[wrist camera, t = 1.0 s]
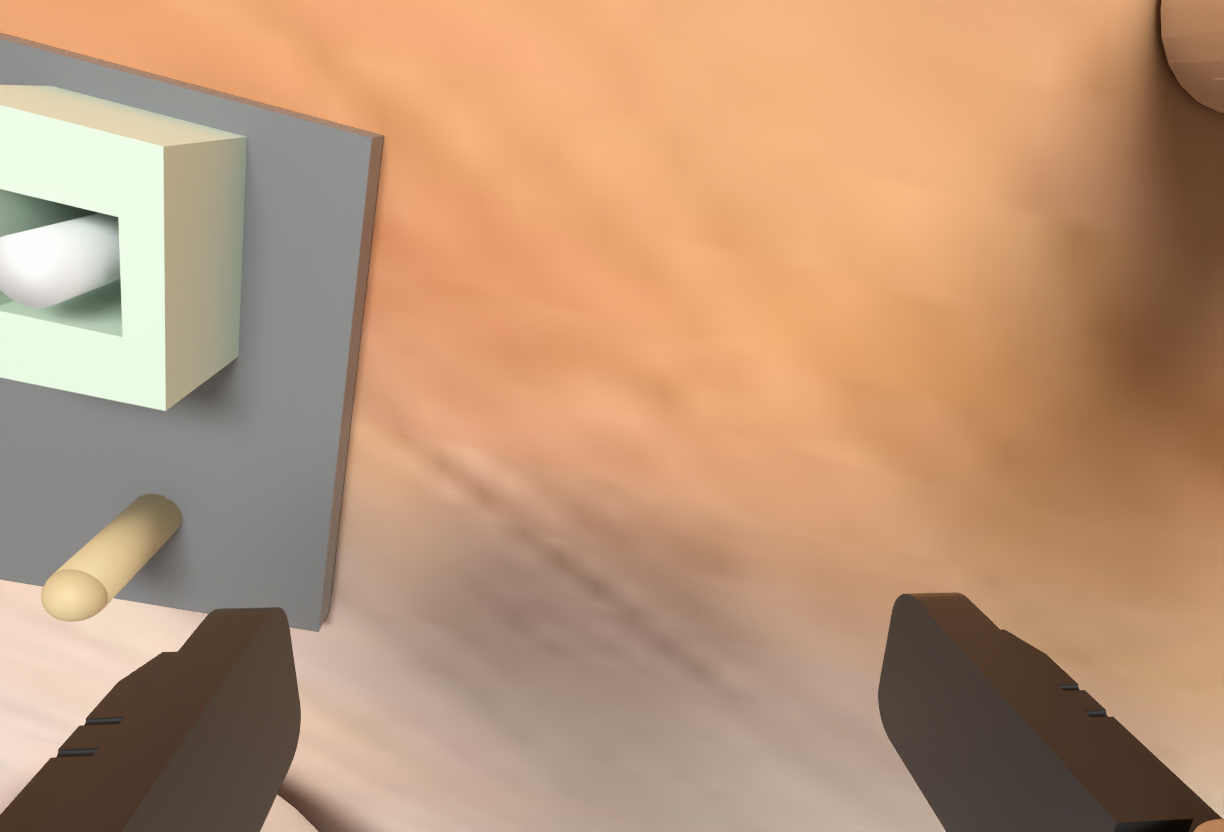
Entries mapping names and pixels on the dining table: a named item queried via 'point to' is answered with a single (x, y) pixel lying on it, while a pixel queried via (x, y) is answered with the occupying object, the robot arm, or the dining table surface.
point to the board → (217, 409)
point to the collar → (125, 245)
